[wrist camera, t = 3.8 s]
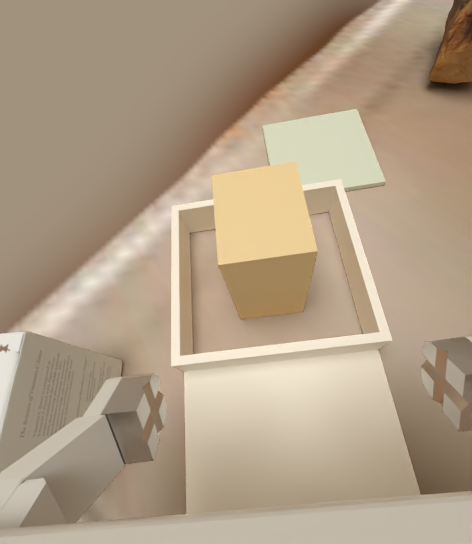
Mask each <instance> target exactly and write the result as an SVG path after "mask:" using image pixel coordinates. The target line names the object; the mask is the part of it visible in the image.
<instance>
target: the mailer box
mask: <svg viewBox="0 0 472 544" xmlns="http://www.w3.org/2000/svg"><path fill="white" fill-rule="evenodd" d="M302 188H303V192H304V196H305V200H306V204H307V208H308V213H309V215H311V214H318V213H324V212H329V214H330V218H331V221H332V225H333V229H334V232H335V236H336V239H337V243H338V247H339V250H340V254H341V257H342V261H343V265H344V268H345V272H346V275H347V279H348V283H349V286H350V290H351V293H352V297H353V300H354V304H355V308H356V311H357V315H358V318H359V322H360V326H361V329H362V333H363V334H360V335H351V336H343V337H335V338H326V339H318V340H309V341H301V342H293V343H284V344H276V345H267V346H259V347H251V348H242V349H234V350H225V351H217V352H209V353H200V354H193V327H192V293H191V258H190V233H193V232H199V231H206V230H213V229H215V215H214V202H213V199H212V200H206V201H200V202H193V203H187V204H181V205H175V206H172V276H171V366H172V367H174V368H177V369H179V370H181V371H184V388H185V453H186V514H191V513H203V512H216V511H228V510H240V509H252V508H265V507H277V506H289V505H302V504H314V503H326V502H338V501H351V500H363V499H375V498H387V497H400V496H412V495H421V493H420V490H419V487H418V483H417V480H416V476H415V473H414V470H413V466H412V463H411V459H410V456H409V453H408V449H407V446H406V442H405V439H404V436H403V432H402V429H401V425H400V422H399V419H398V415H397V412H396V408H395V405H394V402H393V398H392V395H391V391H390V388H389V385H388V381H387V378H386V374H385V371H384V368H383V364H382V361H381V357H380V354H379V350H378V349H380V348H381V347H383V346H384V345H386V344H388V343H389V342H391V341H392V337H391V334H390V331H389V328H388V325H387V322H386V319H385V315H384V312H383V309H382V306H381V303H380V300H379V297H378V293H377V290H376V287H375V284H374V281H373V278H372V275H371V271H370V268H369V265H368V262H367V259H366V256H365V253H364V249H363V246H362V243H361V240H360V237H359V234H358V231H357V227H356V224H355V221H354V218H353V215H352V212H351V209H350V205H349V202H348V199H347V196H346V193H345V190H344V187H343V183H342V180H341V179H337V180H331V181H325V182H318V183H312V184H306V185H302Z"/></svg>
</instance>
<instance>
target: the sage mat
mask: <svg viewBox="0 0 472 544" xmlns="http://www.w3.org/2000/svg"><path fill="white" fill-rule="evenodd" d="M263 134H264V139H265V144H266V150H267V155H268V160H269V166H271V165H277V164H283V163H289V162H295V161H296V163H297V167H298V171H299V175H300V179H301V184H302V185H306V184H312V183H318V182H325V181H331V180H337V179H341V180H342V183H343V187H344V190H345V191H350V190H356V189H363V188H369V187H376V186H382V185H384V184H385V182H386V181H385V178H384V176H383V173H382V171H381V168H380V166H379V163H378V161H377V158H376V156H375V153H374V151H373V148H372V146H371V143H370V141H369V138H368V136H367V133H366V131H365V128H364V126H363V123H362V121H361V118H360V116H359V113H358V111H357V109H353V110H348V111H342V112H336V113H331V114H325V115H319V116H314V117H308V118H303V119H297V120H291V121H286V122H280V123H274V124H269V125H263Z"/></svg>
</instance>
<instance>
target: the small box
mask: <svg viewBox="0 0 472 544" xmlns="http://www.w3.org/2000/svg"><path fill="white" fill-rule="evenodd" d="M121 372H122V360H120V359H116V358H113V357H109V356H106V355H103V354H100V353H96V352H93V351H89V350H86V349H83V348H80V347H77V346H73V345H71V344H67V343H64V342H61V341H58V340H55V339H52V338H48V337H45V336H41V335H39V334H35V333H32V332H28V331H21V332H12V333H2V334H0V473H1V472H2V471H3V470H5V469H6V468H8V467H9V466H10V465H12V464H13V463H15V462H16V461H17V460H19V459H20V458H22V457H23V456H24V455H26V454H27V453H29V452H30V451H31V450H33V449H34V448H36V447H37V446H38V445H40V444H41V443H43V442H44V441H45V440H47V439H48V438H50V437H51V436H52V435H54V434H55V433H57V432H58V431H59V430H61V429H62V428H64V427H65V426H66V425H68V424H69V423H71V422H72V421H73V420H75V419H76V418H79V417H83V415H84V414H85V412H86V411H87V409H88V407H89V406H90V404H91V403H92V401H93V400H94V398H95V397H96V395H97V394H98V392H99V390H100V389H101V387H102V386H103V384H104V383H105V381H106V380H107V379H109V378H113V377H121Z"/></svg>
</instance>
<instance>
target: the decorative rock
mask: <svg viewBox="0 0 472 544" xmlns="http://www.w3.org/2000/svg"><path fill="white" fill-rule="evenodd" d="M430 81H433V82H445V83H453V84H456V83H461V82H472V0H454V3H453V6H452V8H451V10H450V12H449V14H448V18H447V21H446V26H445V32H444V37H443V41H442V43H441V45H440V48H439V50H438V53H437V56H436V59H435V62H434V65H433V67H432V69H431V72H430Z"/></svg>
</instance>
